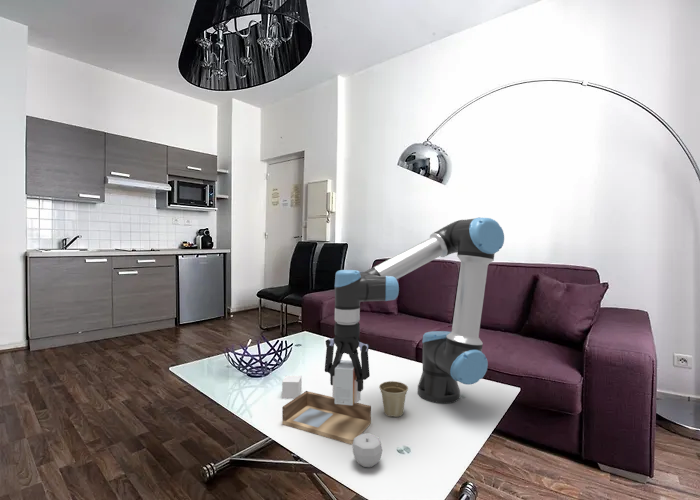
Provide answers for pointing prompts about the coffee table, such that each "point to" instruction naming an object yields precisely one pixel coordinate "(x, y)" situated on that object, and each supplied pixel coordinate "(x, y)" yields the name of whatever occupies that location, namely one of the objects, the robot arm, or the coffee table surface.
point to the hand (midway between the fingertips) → (346, 398)
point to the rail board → (326, 416)
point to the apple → (367, 449)
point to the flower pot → (393, 397)
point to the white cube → (291, 386)
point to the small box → (344, 383)
